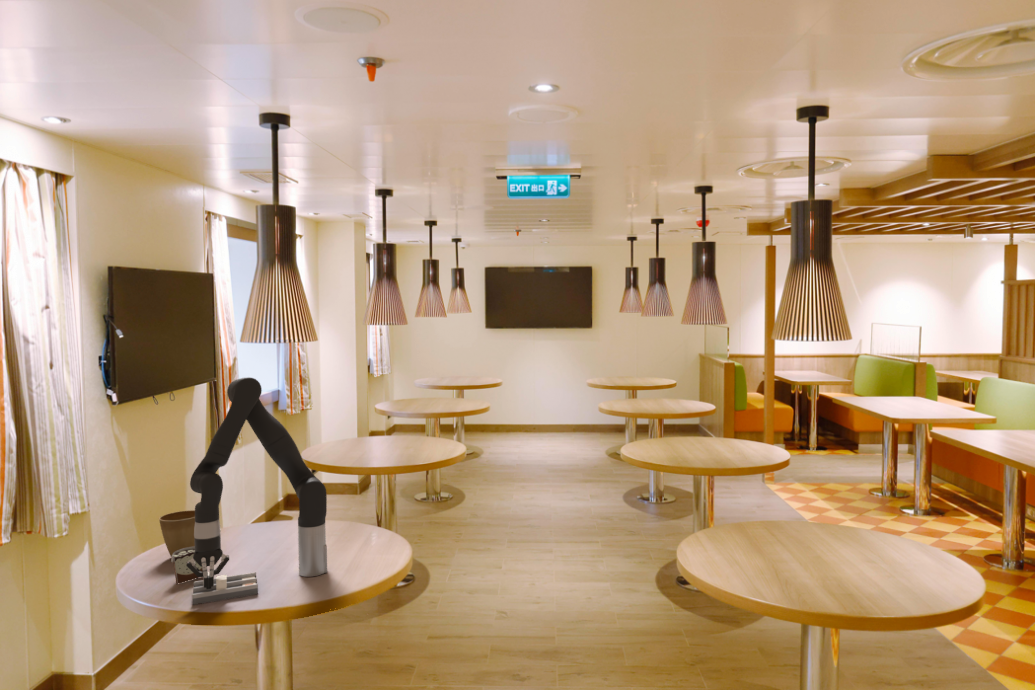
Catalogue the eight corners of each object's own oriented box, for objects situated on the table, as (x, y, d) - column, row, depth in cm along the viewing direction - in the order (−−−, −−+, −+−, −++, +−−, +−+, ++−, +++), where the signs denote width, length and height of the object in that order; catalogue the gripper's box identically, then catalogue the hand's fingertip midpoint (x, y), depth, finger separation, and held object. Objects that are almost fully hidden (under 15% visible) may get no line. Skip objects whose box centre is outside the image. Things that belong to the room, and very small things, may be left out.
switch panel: (256, 581, 219) (256, 572, 219) (258, 594, 208) (257, 584, 208) (194, 591, 211) (193, 581, 211) (192, 605, 200) (192, 594, 200)
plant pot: (212, 550, 252) (211, 509, 252) (188, 563, 237) (187, 520, 237) (176, 549, 253) (175, 509, 253) (151, 563, 239) (150, 520, 238)
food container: (201, 571, 230) (201, 543, 229) (209, 575, 226) (209, 546, 225) (165, 581, 220) (164, 552, 220) (172, 585, 216) (172, 556, 216)
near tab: (226, 586, 209) (226, 574, 209) (226, 591, 205) (226, 579, 205) (216, 588, 208) (216, 576, 208) (216, 593, 204) (216, 580, 204)
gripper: (230, 528, 211) (231, 580, 211) (184, 534, 205) (186, 587, 206) (230, 534, 204) (231, 588, 204) (183, 540, 199) (184, 596, 199)
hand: (208, 588), depth 205 cm, fingers closed
